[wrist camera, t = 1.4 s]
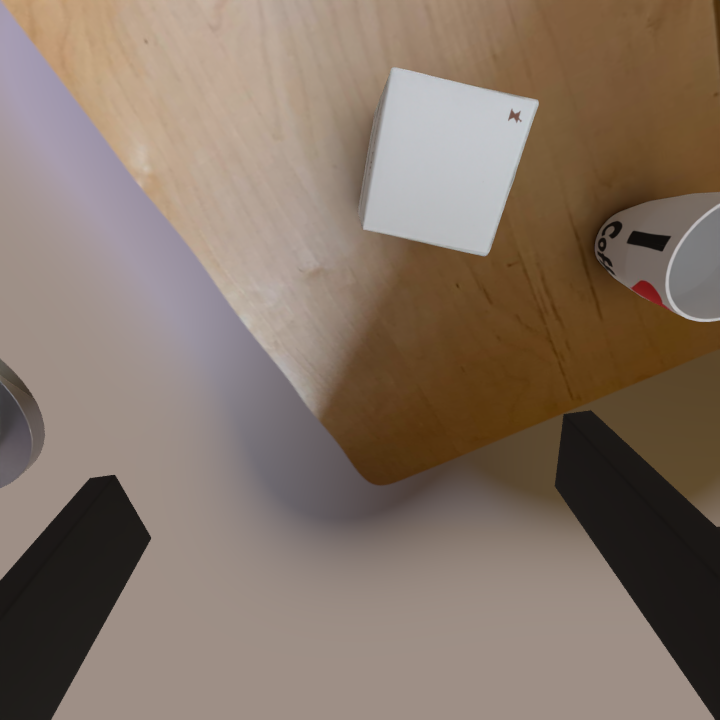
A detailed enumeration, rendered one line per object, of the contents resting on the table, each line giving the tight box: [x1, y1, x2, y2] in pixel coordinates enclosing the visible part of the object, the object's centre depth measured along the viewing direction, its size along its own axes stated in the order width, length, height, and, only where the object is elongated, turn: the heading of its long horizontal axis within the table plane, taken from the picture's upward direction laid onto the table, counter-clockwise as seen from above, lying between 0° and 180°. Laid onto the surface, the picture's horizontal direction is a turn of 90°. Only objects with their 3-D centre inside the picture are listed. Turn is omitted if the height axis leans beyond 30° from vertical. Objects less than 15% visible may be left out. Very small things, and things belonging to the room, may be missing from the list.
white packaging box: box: [358, 67, 539, 256], centre depth 24 cm, size 7×7×13 cm
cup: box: [595, 192, 720, 322], centre depth 28 cm, size 8×8×10 cm
